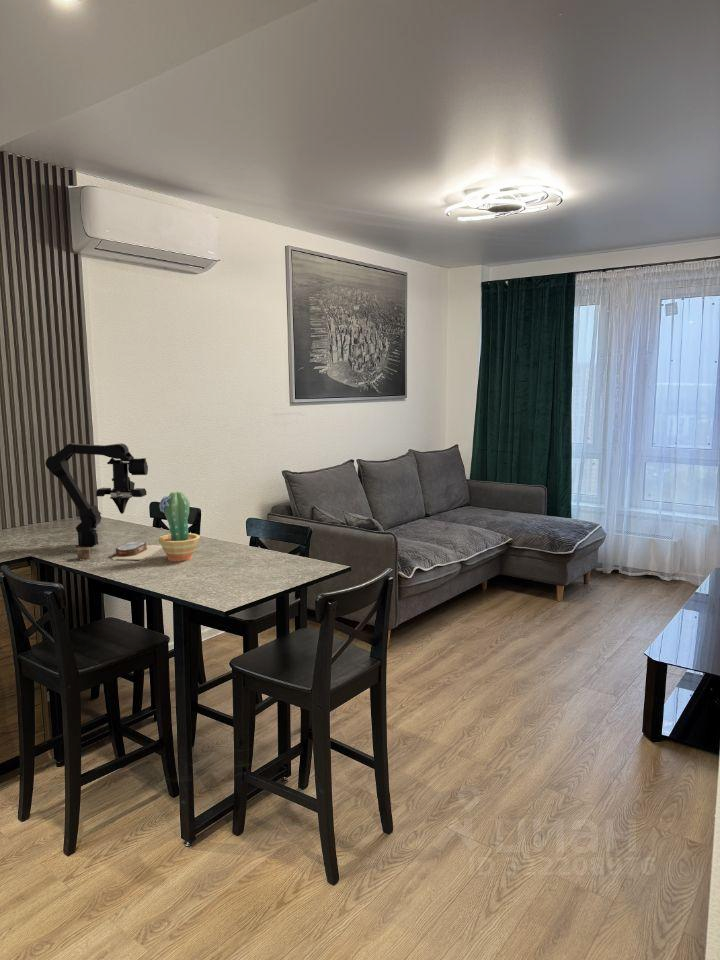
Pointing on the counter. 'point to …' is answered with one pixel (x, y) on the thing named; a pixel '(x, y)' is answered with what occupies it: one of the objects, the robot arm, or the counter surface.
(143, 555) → the mat
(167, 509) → the potted cactus
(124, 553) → the tin
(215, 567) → the counter surface
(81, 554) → the walnut block
